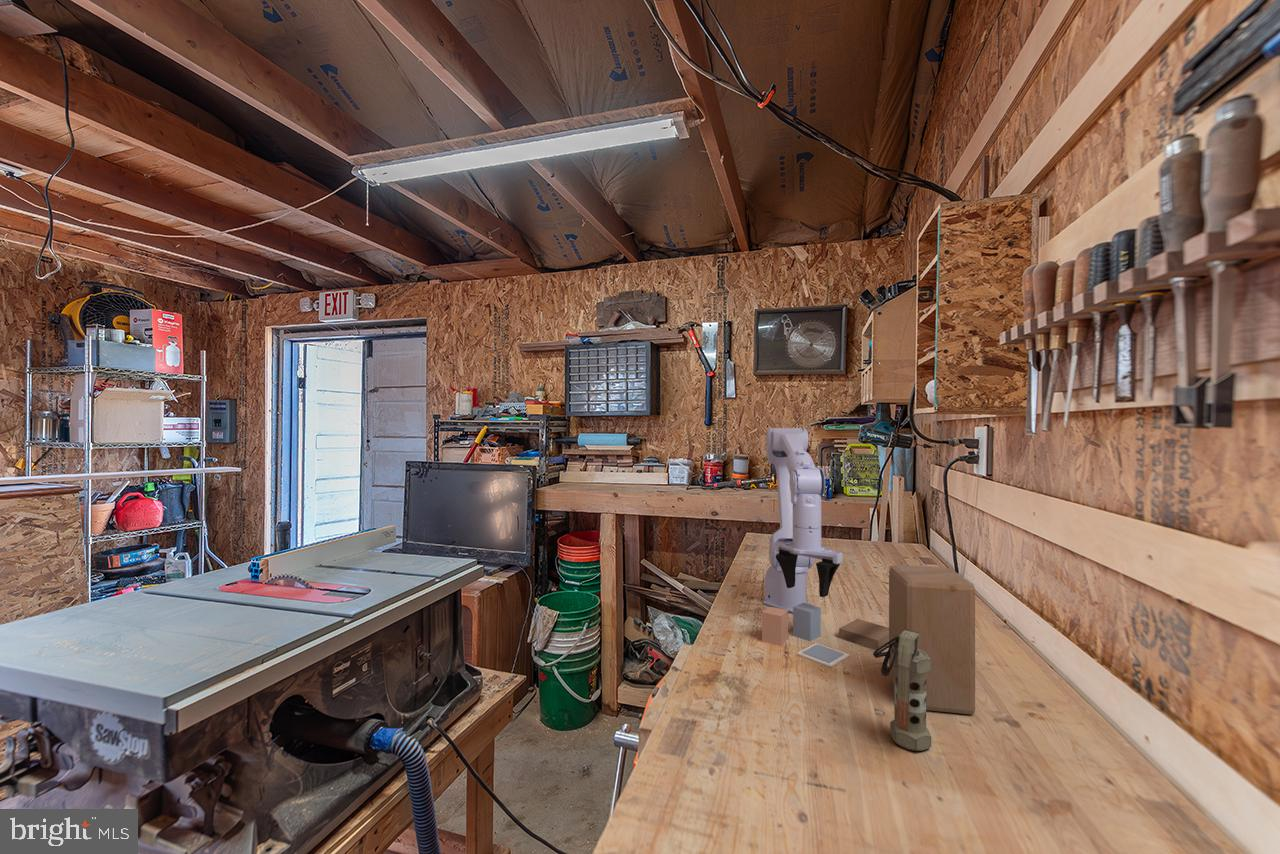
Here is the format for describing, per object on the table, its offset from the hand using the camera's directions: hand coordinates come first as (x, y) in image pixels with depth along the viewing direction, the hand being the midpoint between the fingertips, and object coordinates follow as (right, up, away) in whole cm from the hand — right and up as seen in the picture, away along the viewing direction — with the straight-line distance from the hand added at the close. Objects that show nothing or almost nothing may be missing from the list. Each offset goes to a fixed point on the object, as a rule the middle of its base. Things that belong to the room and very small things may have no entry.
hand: (806, 591), depth 106 cm
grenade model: (+1, -9, -36) cm, 37 cm away
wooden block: (+12, -9, -24) cm, 29 cm away
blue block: (0, -9, 0) cm, 9 cm away
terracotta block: (-7, -9, -2) cm, 12 cm away
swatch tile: (0, -9, -9) cm, 13 cm away
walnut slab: (+12, -10, -2) cm, 15 cm away
